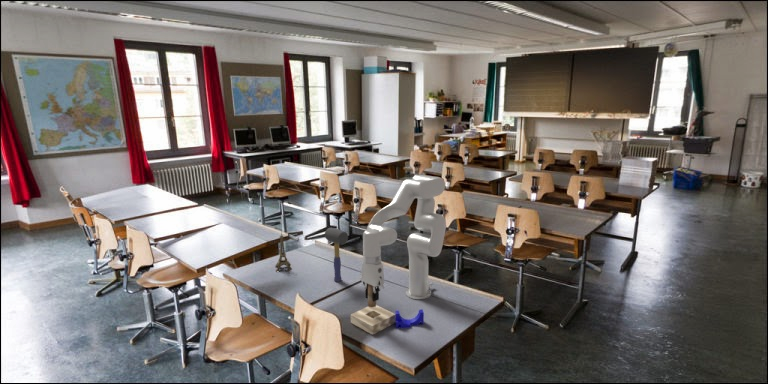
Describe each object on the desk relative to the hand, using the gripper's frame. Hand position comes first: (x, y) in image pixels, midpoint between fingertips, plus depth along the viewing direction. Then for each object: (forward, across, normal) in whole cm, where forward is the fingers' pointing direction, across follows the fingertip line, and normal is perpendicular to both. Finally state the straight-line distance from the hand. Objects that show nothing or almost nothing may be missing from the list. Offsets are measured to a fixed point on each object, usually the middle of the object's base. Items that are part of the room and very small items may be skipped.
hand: (372, 298), depth 181 cm
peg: (+3, 0, 0) cm, 3 cm away
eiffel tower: (+12, +82, -6) cm, 83 cm away
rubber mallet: (+12, +45, -17) cm, 49 cm away
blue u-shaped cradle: (+12, -13, -11) cm, 20 cm away
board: (+12, 0, -1) cm, 12 cm away
